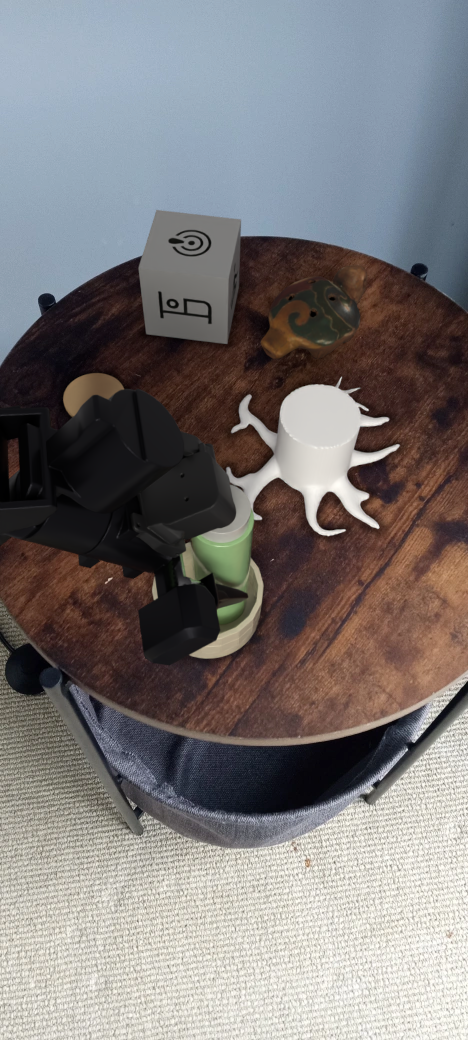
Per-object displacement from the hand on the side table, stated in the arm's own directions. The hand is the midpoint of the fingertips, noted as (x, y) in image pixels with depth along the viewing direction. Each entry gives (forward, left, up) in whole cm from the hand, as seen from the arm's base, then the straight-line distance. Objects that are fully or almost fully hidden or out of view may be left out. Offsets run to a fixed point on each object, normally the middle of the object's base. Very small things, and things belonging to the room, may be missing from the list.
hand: (236, 561), depth 62 cm
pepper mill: (-1, 0, -8) cm, 8 cm away
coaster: (-10, +28, -9) cm, 31 cm away
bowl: (-3, 0, -9) cm, 9 cm away
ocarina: (+17, +32, -9) cm, 37 cm away
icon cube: (+4, +40, -9) cm, 41 cm away
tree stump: (+12, +15, -9) cm, 21 cm away
